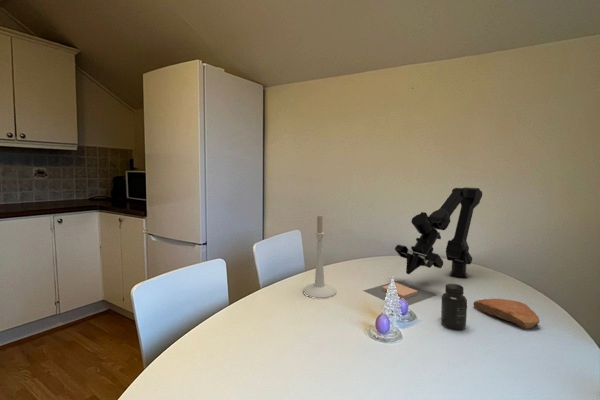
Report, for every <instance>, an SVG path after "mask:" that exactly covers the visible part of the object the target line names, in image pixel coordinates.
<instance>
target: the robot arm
mask: <svg viewBox="0 0 600 400" xmlns="http://www.w3.org/2000/svg"><path fill="white" fill-rule="evenodd" d="M482 197H483V191H482V190H481V189H480V188H478V187H467V186H466V187H454V188H452V190H451V193H450V194H449V196H448V197H447V199H445V201H444V203H443V204H442V205H441V207H440V208H439V209H437V210H435V211H432V213H430V214H429V215H428V214H427V212H424V211H421V212H420V213H419V214H416V215H415V216H413V217H412V218H411V224H412V225H413V227H414V228H415V230H416V231H417V232H418V233H419V234H420V236H419V237H416V239H415V241H416V243H415V244H414V245H411V247H410V249H409V248H408V246H406V245H402V244H396V246H395V248H394V250H395V252H396V253H397V254H398V256H400V257H401V258H403V259H406V269H405V270H406V271H405V272H406V274H407V275H410V274H412V273H413V272H414V271H416V269H418V268H420V267H427V268H428V269H431V268H432V267H434V268H437V269H442V267H444V261H443V259H442V258H441V256H440V255H439V254H438V253H435V252H434V244H435V243H436V241H437V240H441V239H442V237H441V233H440V232H439V231H445V230H447V228H448V227H449V225H450V223H451V216H452V215H453V213H454V212H455V210H456V209H457V208H458V206H459V205H460V206H461V207H460V210H459V211H460V212H459V215H458V219H457V223H456V227H455V232H454V236H453V238H452V239H449V240H448V241H447V245H446V248H445V255H446V260H447V261H451V270H450V273H449V276H450V277H455V278H461V279H463V278H464V279H467V278H468V273H467V266H468V265H472V263H473V257H472V255H471V254H470V252H469V251H470V247H469V243H468V242H467V240H468V235H469V230H470V226H471V222H472V217H473V213H474V209H475V208H476V207H477V206H478V205H479V204H480V202H481V200H482ZM438 230H439V231H438Z"/></svg>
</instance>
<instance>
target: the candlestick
mask: <svg viewBox="0 0 600 400" xmlns="http://www.w3.org/2000/svg"><path fill="white" fill-rule="evenodd" d="M323 221H324V219H323V215H322V214H319V215H317V217H316V224H317V225H316V232H315V233H314V234H315V236H316V237H315V238H316V239H317V241H316V254H315V255H316V257H315V259H316V260H315V273H314V274H315V276H314V283H311V284H308V285H306V286H304V287H303V289H302V293H303V292H304V293H305V294H306V295H308V296H311V297H315V298H326V299H330V298H329V297H331V298H333V297H335V296H336V295H337V289H336V288H335V287H334V286H332V285H331V284H328V283H325V274H324V272H325V271H324V254H323V253H324V251H323V250H324V249H323V247H324V246H323V238H324V234H325V232H323ZM334 295H335V296H334ZM332 296H333V297H332ZM315 298H314V299H315Z"/></svg>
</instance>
